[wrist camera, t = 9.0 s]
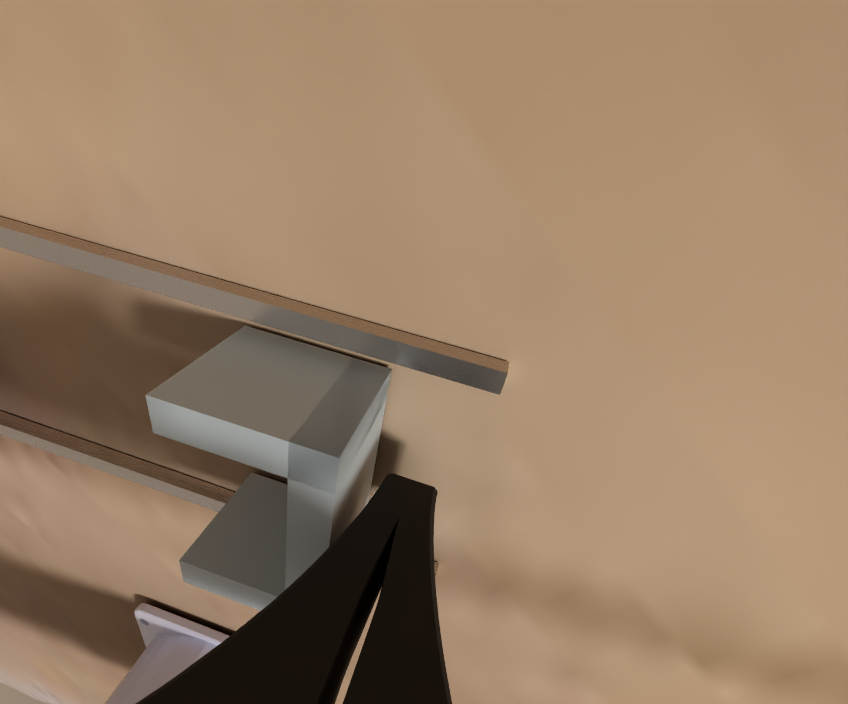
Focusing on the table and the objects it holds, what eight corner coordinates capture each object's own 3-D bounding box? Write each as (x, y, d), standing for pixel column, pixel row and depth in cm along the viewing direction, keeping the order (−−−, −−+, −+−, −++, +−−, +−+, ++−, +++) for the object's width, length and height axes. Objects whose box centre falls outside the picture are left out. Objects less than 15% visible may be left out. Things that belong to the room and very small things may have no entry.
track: (435, 573, 14) (431, 587, 14) (-239, 337, 17) (-259, 343, 17) (508, 362, 10) (507, 373, 9) (-418, 96, 13) (-451, 95, 12)
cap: (363, 531, 14) (319, 633, 11) (252, 492, 14) (183, 581, 11) (391, 368, 10) (338, 458, 8) (244, 325, 11) (145, 395, 8)
